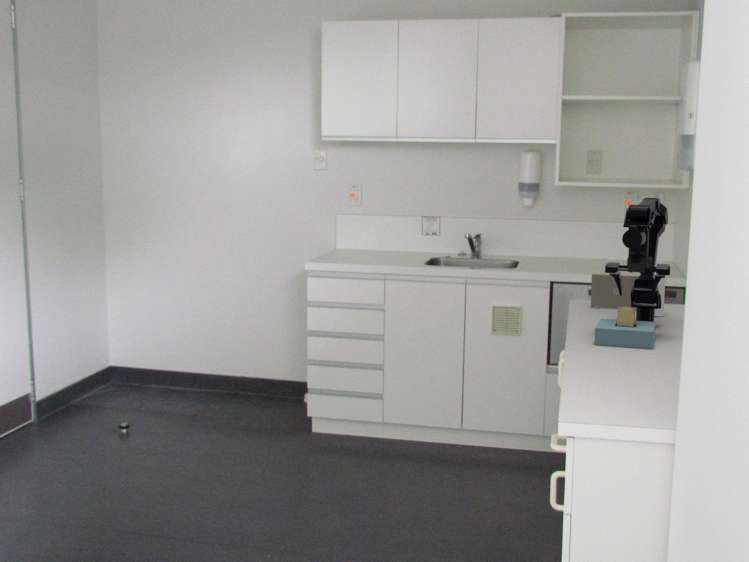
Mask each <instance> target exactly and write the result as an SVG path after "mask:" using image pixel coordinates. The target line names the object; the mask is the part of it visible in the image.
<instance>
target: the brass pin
mask: <svg viewBox="0 0 749 562" xmlns="http://www.w3.org/2000/svg"><path fill="white" fill-rule="evenodd" d="M616 315H617V317H616V320H617V326H620V327H634V325H635V321H636V311H635V308H634V307H619V308H618V310H617V314H616Z"/></svg>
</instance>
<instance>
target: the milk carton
mask: <svg viewBox="0 0 749 562" xmlns="http://www.w3.org/2000/svg"><path fill="white" fill-rule="evenodd" d="M657 264H665V261H657V260H656V265H657ZM655 274H656V272H655ZM654 278H655V275H654ZM657 286H658V290H659V293H660V295H661V309H655V316H654V317H664V316H665V294H666V293H665V292H666V290H665V289H666V277H665V278H661V280H660V282H659V283H658V285H657ZM640 304H641V303H640ZM652 305H656V304H652Z"/></svg>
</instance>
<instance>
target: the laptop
mask: <svg viewBox="0 0 749 562" xmlns="http://www.w3.org/2000/svg"><path fill="white" fill-rule="evenodd" d="M639 276H640V275H624V274H623V275H622V274H621V284H622V296H620V294H619V290H618V287H617V284H616V281H615V279H614V277H613V276H610V275H609V274H598V273H594V274H591V284H590V285H591V286H590V288H591V291H590V293H591V294H590V309H598V310H599V309H600V310H601V309H602V310H616V311H618V308H619V307H631V290H632V289H633V287H634V281H635V279H638V278H639ZM638 304H640V303H638ZM634 308H635V312H636V307H634Z"/></svg>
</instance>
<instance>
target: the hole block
mask: <svg viewBox="0 0 749 562" xmlns="http://www.w3.org/2000/svg"><path fill="white" fill-rule="evenodd" d="M656 326H657V323H656V321H654V322H648V321H636V320H635V325H634V327H620V326H617V319H614V318H613V319H612V318H600V320H599V321H598V323H597V324H596V326H595V327H594V346H602V347H603V346H605V347H616V348H617V347H618V348H630V349H631V348H634V349H643V350H645V349H646V350H654V344H655V341H656Z"/></svg>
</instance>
